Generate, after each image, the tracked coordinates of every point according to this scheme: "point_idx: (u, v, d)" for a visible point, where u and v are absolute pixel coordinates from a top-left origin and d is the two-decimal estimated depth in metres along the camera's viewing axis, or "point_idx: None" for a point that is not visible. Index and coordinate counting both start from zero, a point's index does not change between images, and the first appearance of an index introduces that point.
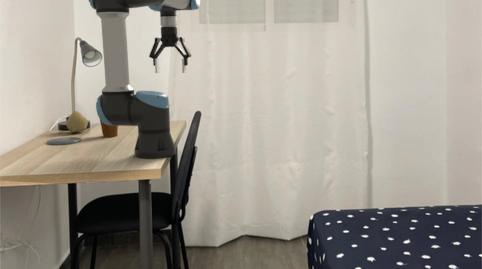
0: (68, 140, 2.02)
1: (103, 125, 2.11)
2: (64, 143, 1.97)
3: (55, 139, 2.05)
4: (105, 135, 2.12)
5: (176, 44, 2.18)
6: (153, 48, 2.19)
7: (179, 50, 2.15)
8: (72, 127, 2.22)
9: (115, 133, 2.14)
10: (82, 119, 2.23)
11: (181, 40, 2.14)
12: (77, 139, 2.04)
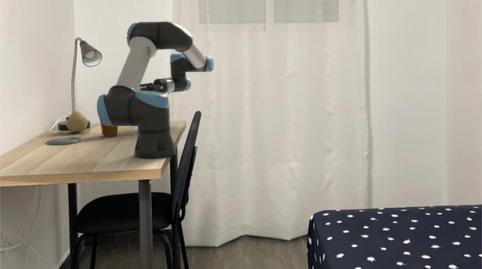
0: (68, 140, 2.02)
1: (103, 125, 2.11)
2: (64, 143, 1.97)
3: (55, 139, 2.05)
4: (105, 135, 2.12)
5: None
6: None
7: None
8: (72, 127, 2.22)
9: (115, 133, 2.14)
10: (82, 119, 2.23)
11: (160, 85, 2.24)
12: (77, 139, 2.04)
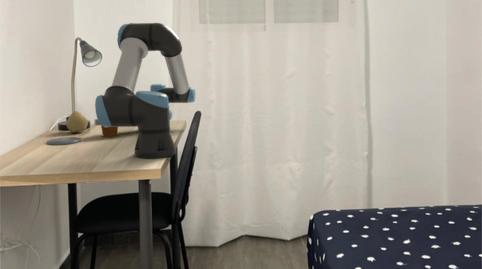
0: (68, 140, 2.02)
1: None
2: (64, 143, 1.97)
3: (55, 139, 2.05)
4: (105, 135, 2.12)
5: None
6: None
7: None
8: (72, 127, 2.22)
9: (115, 133, 2.14)
10: (82, 119, 2.23)
11: None
12: (77, 139, 2.04)
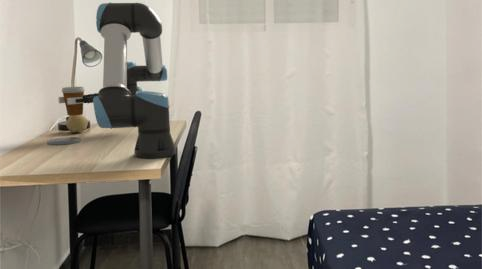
0: (68, 140, 2.02)
1: None
2: (64, 143, 1.97)
3: (55, 139, 2.05)
4: (69, 113, 2.03)
5: None
6: None
7: (90, 96, 2.06)
8: (72, 127, 2.22)
9: (80, 111, 2.04)
10: (82, 119, 2.23)
11: None
12: (77, 139, 2.04)
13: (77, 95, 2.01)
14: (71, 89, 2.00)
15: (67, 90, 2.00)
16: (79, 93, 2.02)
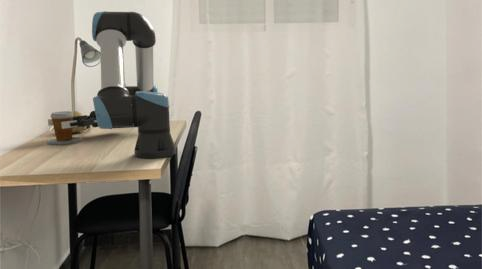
0: None
1: (56, 128, 1.99)
2: (64, 143, 1.97)
3: (55, 139, 2.05)
4: (58, 139, 2.00)
5: None
6: None
7: (83, 119, 2.03)
8: None
9: (69, 137, 2.02)
10: None
11: (94, 118, 2.05)
12: (77, 139, 2.04)
13: (66, 121, 1.99)
14: (60, 115, 1.97)
15: (56, 116, 1.97)
16: (68, 119, 1.99)
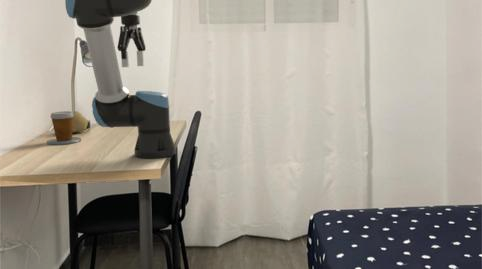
0: None
1: (56, 128, 1.99)
2: (64, 143, 1.97)
3: (55, 139, 2.05)
4: (58, 139, 2.00)
5: None
6: (125, 38, 1.88)
7: (140, 42, 2.01)
8: (72, 127, 2.22)
9: (69, 137, 2.02)
10: (82, 119, 2.23)
11: (140, 31, 2.01)
12: (77, 139, 2.04)
13: (66, 121, 1.99)
14: (60, 115, 1.97)
15: (56, 116, 1.97)
16: (68, 119, 1.99)
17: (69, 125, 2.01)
